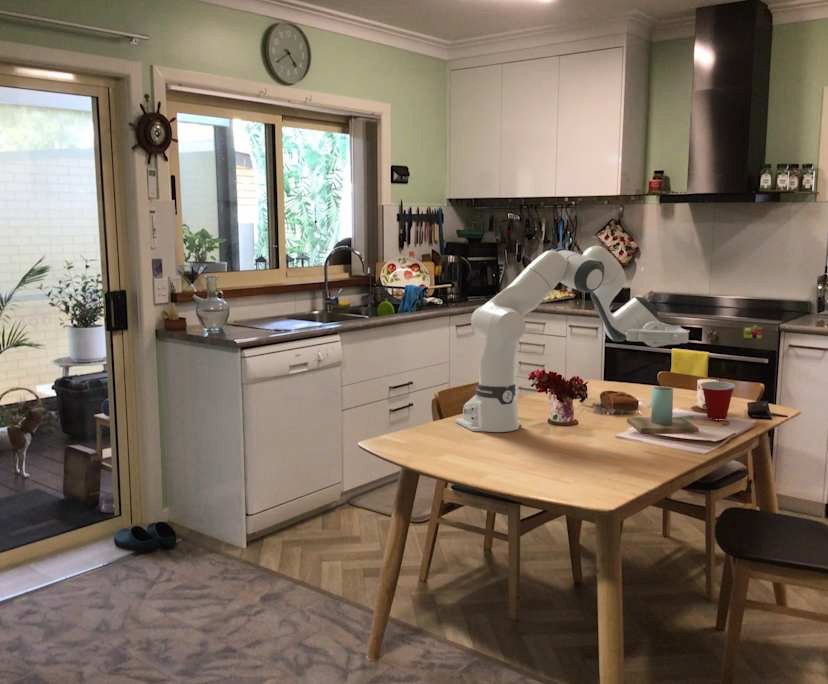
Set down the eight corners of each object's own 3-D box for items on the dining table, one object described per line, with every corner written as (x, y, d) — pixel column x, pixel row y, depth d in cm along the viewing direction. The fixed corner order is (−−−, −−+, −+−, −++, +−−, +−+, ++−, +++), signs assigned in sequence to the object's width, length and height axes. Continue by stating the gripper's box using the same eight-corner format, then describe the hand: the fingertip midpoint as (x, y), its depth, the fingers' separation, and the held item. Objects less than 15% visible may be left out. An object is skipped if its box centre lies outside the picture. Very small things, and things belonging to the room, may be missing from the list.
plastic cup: (693, 418, 270) (694, 383, 269) (709, 414, 278) (710, 379, 276) (723, 424, 262) (725, 387, 261) (739, 419, 269) (741, 383, 268)
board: (640, 433, 250) (640, 428, 250) (627, 421, 266) (627, 417, 266) (698, 432, 250) (698, 428, 250) (681, 421, 266) (681, 417, 266)
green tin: (646, 421, 259) (647, 387, 258) (660, 419, 262) (661, 386, 261) (662, 425, 254) (663, 390, 252) (676, 423, 257) (677, 388, 256)
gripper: (624, 324, 282) (627, 327, 268) (685, 325, 278) (691, 329, 264) (623, 342, 282) (626, 346, 269) (684, 343, 279) (690, 348, 265)
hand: (659, 338), depth 267 cm, fingers open, 8 cm apart
